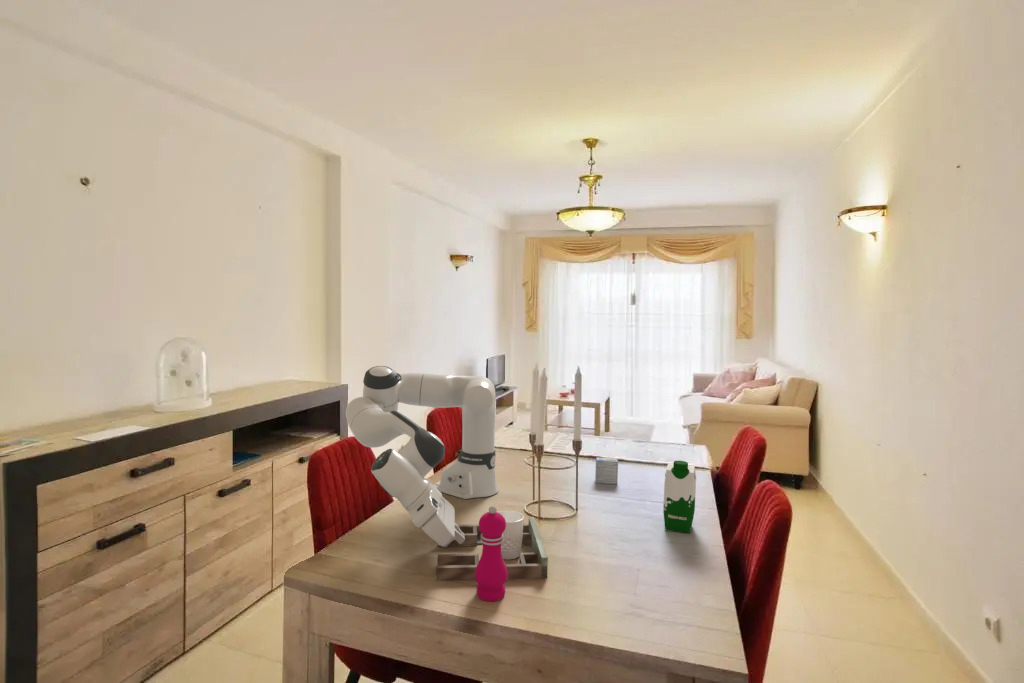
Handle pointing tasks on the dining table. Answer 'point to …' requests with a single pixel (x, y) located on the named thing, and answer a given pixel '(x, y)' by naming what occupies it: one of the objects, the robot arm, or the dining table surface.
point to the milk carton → (679, 496)
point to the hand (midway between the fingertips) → (463, 539)
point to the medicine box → (606, 470)
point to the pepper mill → (491, 557)
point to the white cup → (512, 534)
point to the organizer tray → (527, 567)
